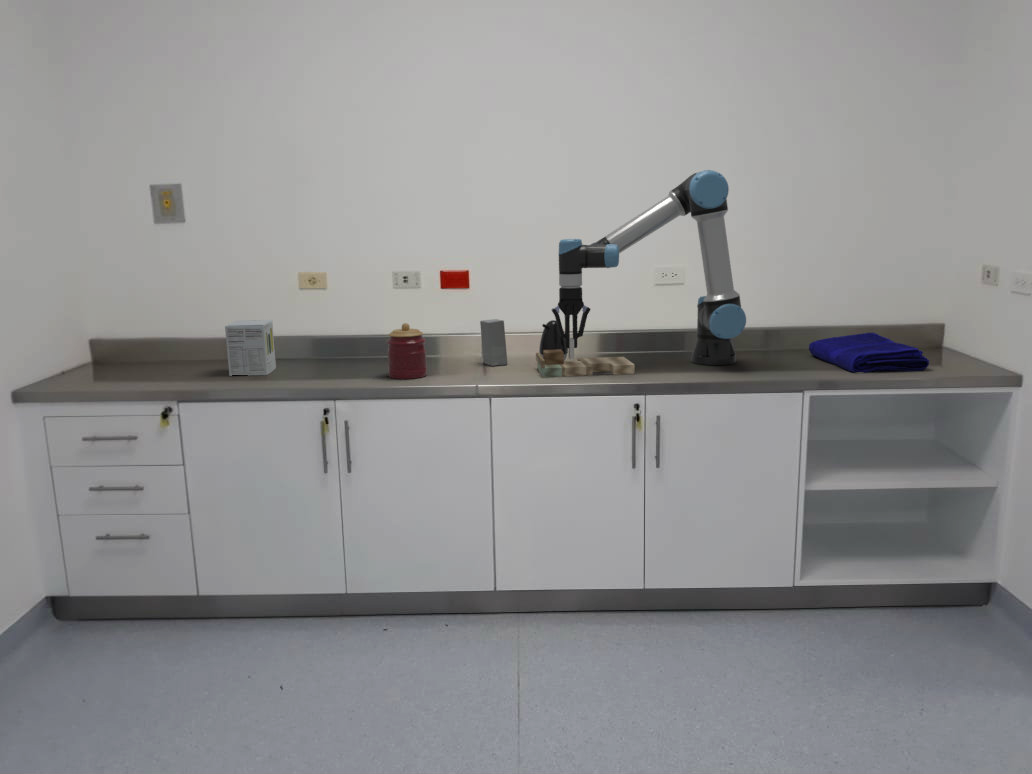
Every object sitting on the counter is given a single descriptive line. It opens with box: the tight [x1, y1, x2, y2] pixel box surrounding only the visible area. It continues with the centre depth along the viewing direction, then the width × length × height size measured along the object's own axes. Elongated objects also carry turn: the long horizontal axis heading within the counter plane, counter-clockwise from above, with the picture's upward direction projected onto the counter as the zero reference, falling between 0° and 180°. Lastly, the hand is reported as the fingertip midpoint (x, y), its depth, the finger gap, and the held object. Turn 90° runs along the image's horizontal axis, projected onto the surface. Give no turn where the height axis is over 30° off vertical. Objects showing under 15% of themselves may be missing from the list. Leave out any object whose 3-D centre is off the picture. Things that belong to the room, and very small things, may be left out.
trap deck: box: [535, 352, 636, 378], centre depth 275 cm, size 30×16×6 cm, turn 96°
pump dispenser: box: [538, 319, 569, 361], centre depth 291 cm, size 10×10×15 cm
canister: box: [386, 322, 428, 380], centre depth 272 cm, size 13×13×18 cm
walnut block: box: [543, 349, 565, 365], centre depth 275 cm, size 6×6×4 cm
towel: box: [808, 332, 930, 374], centre depth 279 cm, size 26×36×9 cm
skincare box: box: [479, 318, 508, 367], centre depth 291 cm, size 8×7×16 cm
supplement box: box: [224, 319, 277, 377], centre depth 285 cm, size 13×13×18 cm
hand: (571, 357), depth 274 cm, fingers closed
